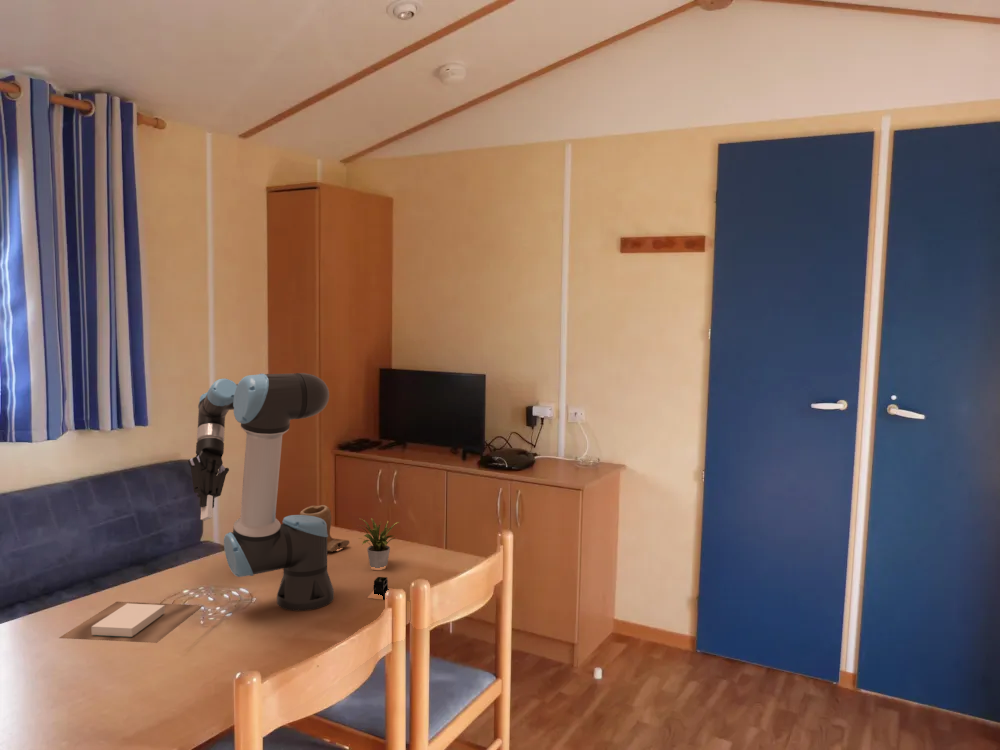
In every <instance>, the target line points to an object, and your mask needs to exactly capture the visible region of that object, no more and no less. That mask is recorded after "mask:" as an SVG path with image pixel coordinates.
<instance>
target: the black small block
mask: <svg viewBox="0 0 1000 750" xmlns="http://www.w3.org/2000/svg"><path fill="white" fill-rule="evenodd" d="M388 583H389V581H388V577H386V576H377V577H376V578H375V579H374V580H373V590H374V594H378V595H379V594H380V595H382V596H383V600H382V601H385V593H386V591H387V590H389V589H388V587H389V585H388Z"/></svg>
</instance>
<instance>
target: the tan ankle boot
mask: <svg viewBox="0 0 1000 750" xmlns="http://www.w3.org/2000/svg"><path fill="white" fill-rule="evenodd" d="M299 515H308V516H315V517H318V518H321V519H323V520H324V521H325V522H326V524H327V534H328V537H327V552H333V551H335V550H337V549H340V548H343V547H345V548H347V547H348V545H350V540H349V539H340V538H333V537H332V536H331V528H332V512H331V509H330V507H329V506H327V505H325V504H321V505H310V506H307V507H305V508H304V509H302V510H301V511H300V512H299Z"/></svg>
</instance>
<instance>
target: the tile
mask: <svg viewBox="0 0 1000 750" xmlns="http://www.w3.org/2000/svg"><path fill="white" fill-rule="evenodd" d="M164 613H165V605H151V604H129V603H127V604H126V605H124V606H123V607H121V608H119V609H118V610H116V611H115V612H113V613H112V614H110V615H109V616H107V617H105V618H104V619H102V620H101V621H99V622H98V623H96V624H95V625H93V626H92V627H91V628H92V635H94V636H114V637H133V636H134V635H135V634H137V633H138V632H139V631H141V630H142V629H144V628H145V627H146V626H148V625H149V624H150V623H152V622H153V621H155V620H156V619H157V618H159V617H160V616H161V615H163V614H164Z"/></svg>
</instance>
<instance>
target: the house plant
mask: <svg viewBox="0 0 1000 750" xmlns="http://www.w3.org/2000/svg"><path fill="white" fill-rule="evenodd" d="M358 519H359V520H362V521H363V522H364V523H365V524H366V525H363V524H362V525H361V524H360V526H361V527H364V528H363V530H364V531H365V532H366V534H364V535H363V537H365V538H366V539H364V540H363V541H362V544H361V545H364V544H366V543H369V542H371V544H372V545H370V546H368V547H367V549H366V550H367V555H368V564H369V567H370V566H371V567H375V568H380V567H384V566H386V565H387V566H388V563H389V557H390V550H391V547H390V546H389V545H388V543H389V542H391V541H392V540H394V539H395V537H394V535H391V534H390V535H388V533H389V532H390V531H391V530H392V529H393V528H394V526H396V525H397V524H399V523H400V521H397V522H395V523H393V524H392V525H391V527H390V526H389V527H388V524H389V520H387V522H386V524H385V526H384V529H383V531H381V532H380V529H381V525H382V523H381V522H379V524H378V525H377V524H376V522H375V520H374V518H372V517H371V518H370V520H371V523H372V528H371V526H370V525H369V523H368V522H367V520H365V519H362V518H360V517H359V518H358ZM361 527H358V528H360V529H361ZM366 529H367V530H366ZM391 537H392V538H391ZM389 538H390V539H389ZM358 539H361V540H362V538H360V537H358ZM388 539H389V540H388Z"/></svg>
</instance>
